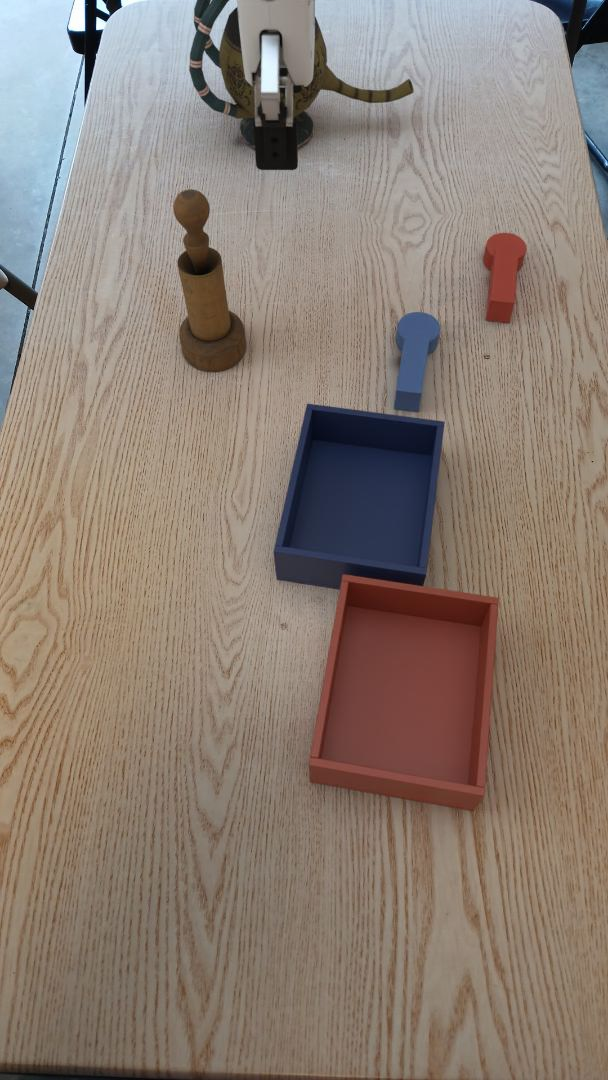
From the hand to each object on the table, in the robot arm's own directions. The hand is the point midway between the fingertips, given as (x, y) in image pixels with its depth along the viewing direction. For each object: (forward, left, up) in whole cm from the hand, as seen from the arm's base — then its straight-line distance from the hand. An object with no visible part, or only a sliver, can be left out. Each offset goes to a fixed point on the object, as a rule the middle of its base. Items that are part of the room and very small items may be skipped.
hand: (279, 128), depth 67 cm
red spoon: (-12, -19, -21) cm, 31 cm away
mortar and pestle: (+3, +8, -21) cm, 23 cm away
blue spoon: (-13, -4, -21) cm, 25 cm away
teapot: (+21, -23, -21) cm, 38 cm away
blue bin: (-21, +12, -21) cm, 32 cm away
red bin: (-35, +22, -21) cm, 47 cm away
